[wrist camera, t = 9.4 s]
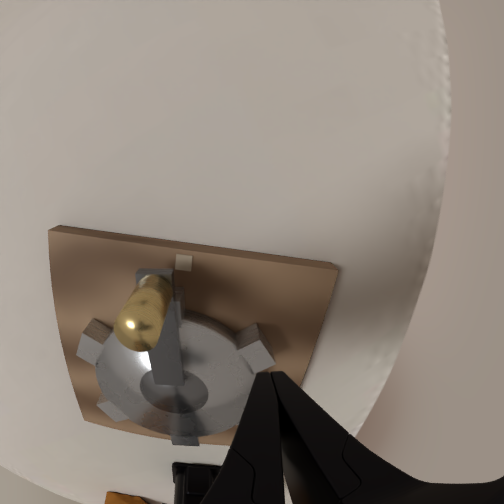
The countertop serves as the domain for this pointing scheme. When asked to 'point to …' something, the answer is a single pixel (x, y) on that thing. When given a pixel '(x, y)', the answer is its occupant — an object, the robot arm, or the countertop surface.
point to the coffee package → (122, 499)
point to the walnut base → (196, 299)
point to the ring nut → (173, 363)
